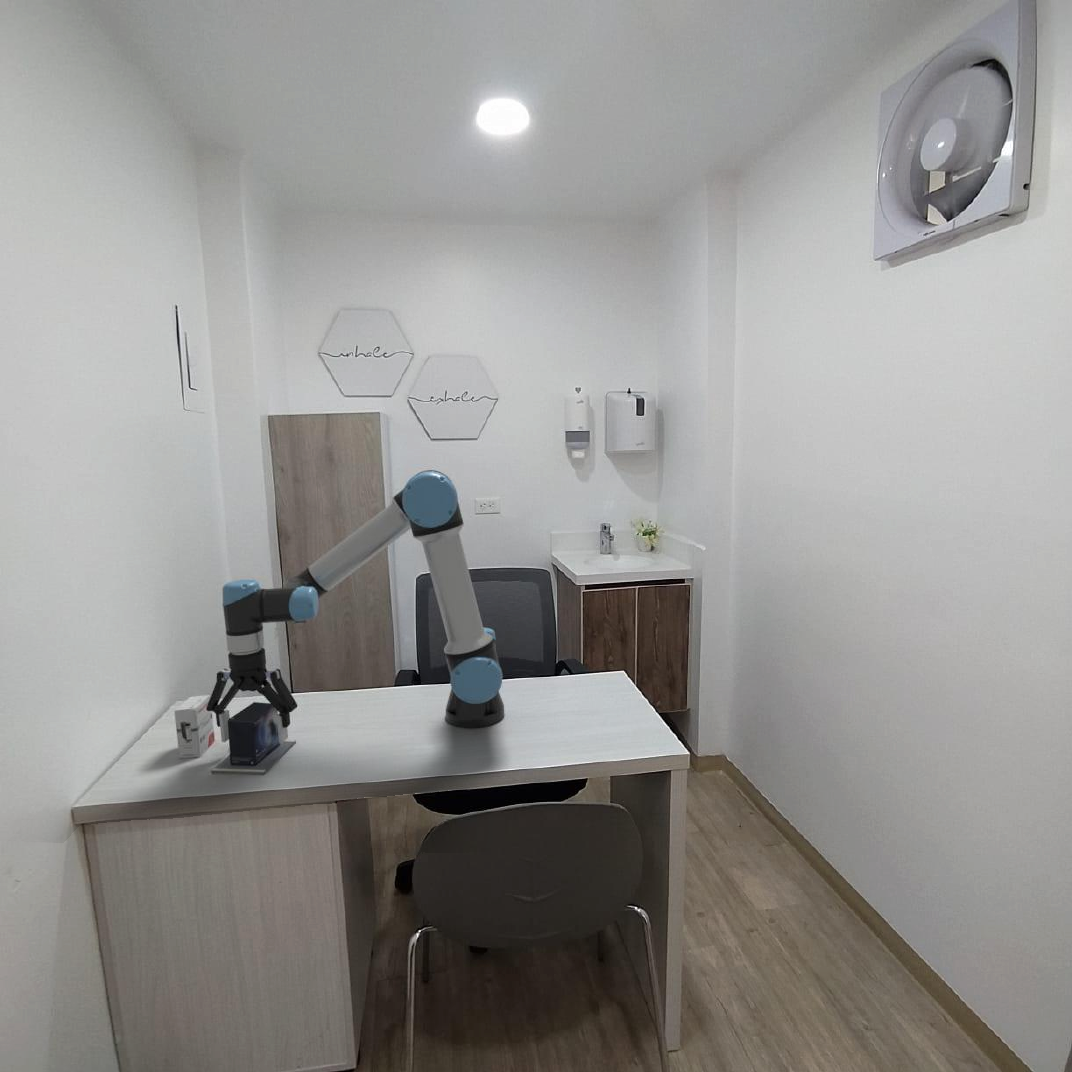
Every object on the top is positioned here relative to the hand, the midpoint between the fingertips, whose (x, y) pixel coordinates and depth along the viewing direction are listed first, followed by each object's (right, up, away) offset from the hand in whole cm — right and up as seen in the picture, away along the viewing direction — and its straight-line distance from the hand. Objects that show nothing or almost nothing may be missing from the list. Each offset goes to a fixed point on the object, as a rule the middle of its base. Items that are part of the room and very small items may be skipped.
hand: (255, 740), depth 146 cm
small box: (0, -4, 0) cm, 4 cm away
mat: (0, -4, +1) cm, 4 cm away
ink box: (-16, -4, +5) cm, 17 cm away
